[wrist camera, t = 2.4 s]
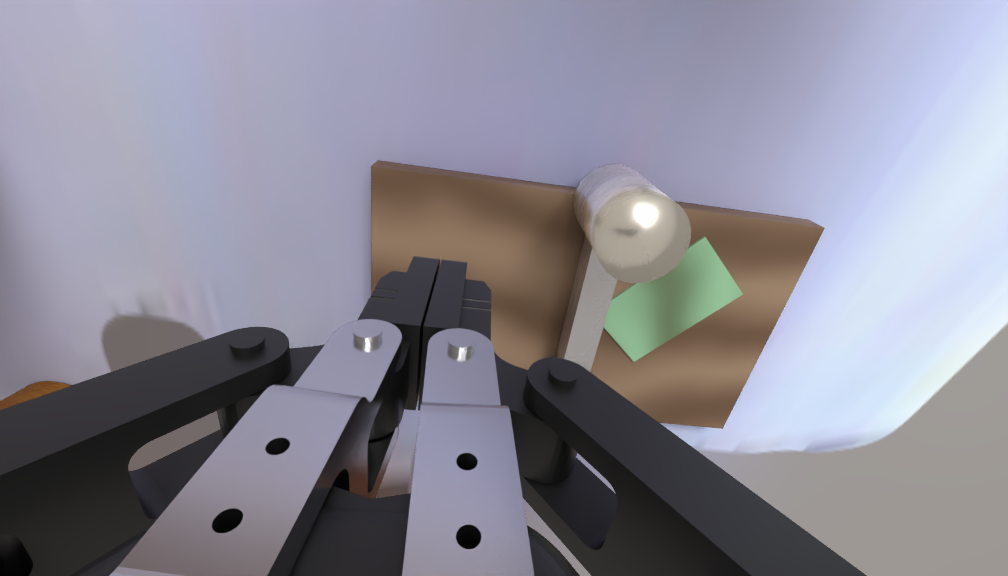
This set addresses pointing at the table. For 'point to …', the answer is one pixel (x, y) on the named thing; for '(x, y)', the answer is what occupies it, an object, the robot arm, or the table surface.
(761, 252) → the board
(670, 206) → the lever
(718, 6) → the table surface
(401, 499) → the robot arm
